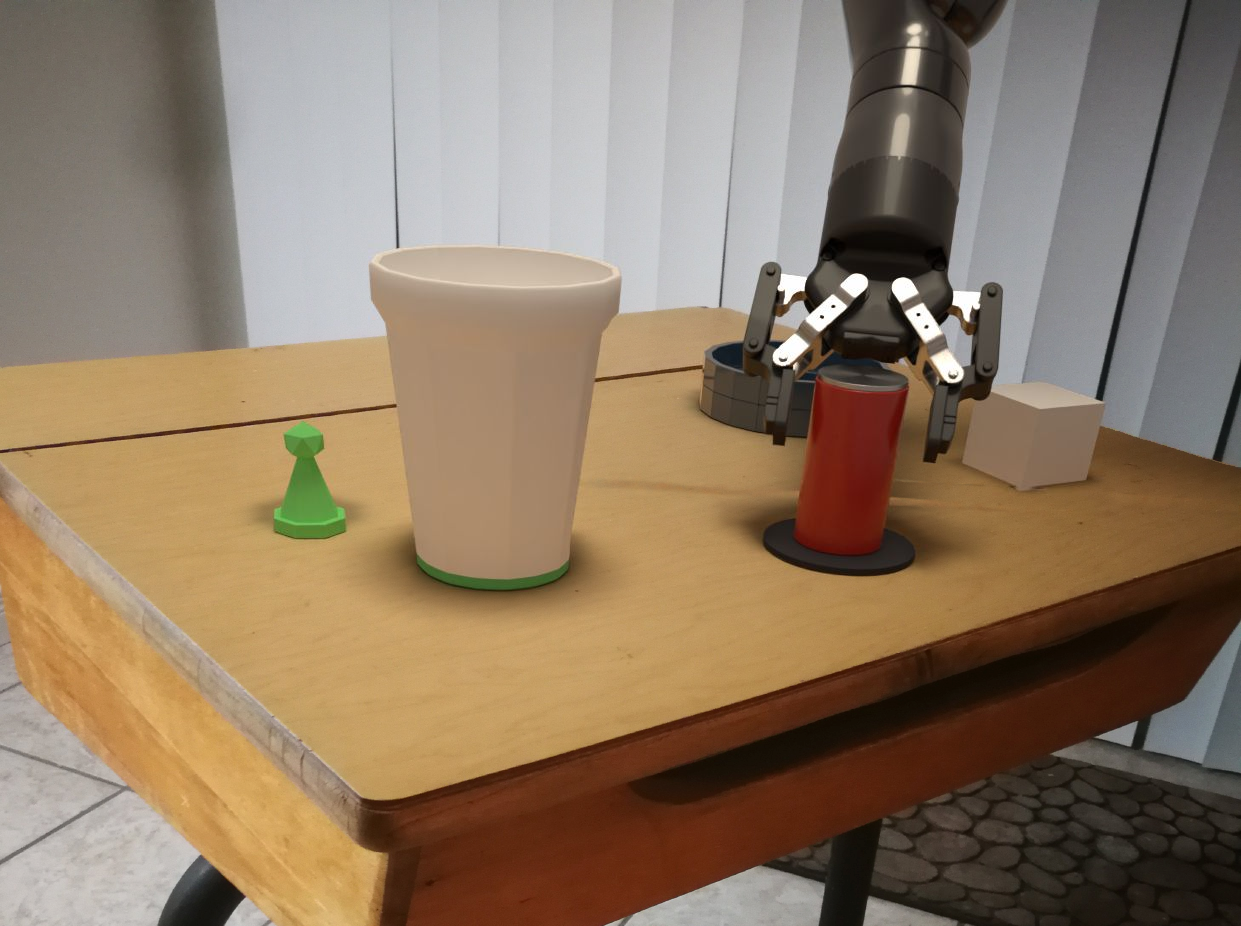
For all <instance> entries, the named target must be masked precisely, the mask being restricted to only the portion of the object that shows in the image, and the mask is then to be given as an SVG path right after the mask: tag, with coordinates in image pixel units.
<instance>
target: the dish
mask: <svg viewBox="0 0 1241 926" xmlns="http://www.w3.org/2000/svg"><path fill="white" fill-rule="evenodd" d="M785 341H786V340H784V339H781V340H780V339H770V343H769V345H771V346H773V347H775V348H777V349H778V348H779V347H780V346H781V345H782V344H783V343H784V342H785ZM832 365H862V366H871V367H877V368H883V369H887V370H891V371H893V370H892V367H890V365H889V363H881V362H878V361H875V360H873V359H870V358H864V359H857V360H850V359H841V354H839V353H837V352H835V351H834V352H833V353H832V354H831V355H830V356H829V357H827V358H826V359H825V360H824V361H823V362H822V363H821V364H820V365H819V366H817V367H816V368H815V369H814V370H811V369H810V370H808V371H807V372H806V373H805V374H803V375H802V376H801V377H800V378H799V379H798V380H797V381H796V382H795V383H794V393H793V399H792V405H791V411H790V417H789V423H788V429H787V435H786V437H796V438H797V437H799V438H807V435H808V428H809V421H810V414H811V407H812V400H813V392H814V385H815V378H816V376H817V375H818V371H819V369H821V368H823V367H826V366H832ZM701 369H702V370H701V380H700V391H699V401H698V402H699V409H700V410H701V412H703V413H704V414H706V415H707V416H708V417H710V418H712V419H713V420H716V421H718V422H721V423H724V424H727V425H728V426H732V427H736V428H739V429H740V428H741V429H743V430H746V431H747V430H748V431H752V432H757V433H763V434H765V431H764V427H763V420H764V408H765V403H766V397H767V391H768V385H769V384H768V382H767V381H766V380H765V379H764V378H762V377H760V376H756V377H749V376H747V375H746V374H745V373H744V372H743V340H735V341H734V340H733V341H727V342H721V343H718V344H713V345H711V346H710V347H708V348H707V349H705V350H704V351H703V358H702V368H701Z"/></svg>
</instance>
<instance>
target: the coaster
mask: <svg viewBox="0 0 1241 926" xmlns="http://www.w3.org/2000/svg"><path fill="white" fill-rule="evenodd" d="M795 521H796V517H791V518H786V519H782V520H779V521H776V522H774V523H772V524H770V525H769V526H767V527H766V528H765V530H764V531H763V534H762V543H763V546H764V548H765V549H766V550H767V551H768V552H769V553H770V554H772V555H773V556H775V557H776V558H778V559H780V560H782V561H783V562H787V563H789V564H791V565H795V566H797V567H801V568H804V569H808V570H811V571H816V572H822V573H827V574H834V575H835V574H836V575H845V576H877V575H883V574H884V575H885V574H890V573H895V572H898V571H901V570H903V569H906V568H907V567H909V566H910V565H912V563H913V562H914V559H915V556H916V547H915V545H914V543H912V542H911V541H910V539H908V538H907V537H906V536H904V535H902V534H900V533H899V532H897V531H895V530H892V529H890V528H887V527H884V532H883V538H882V543H881V547H880V548H879V549H878V550H877V551H875V552H873V553H869V554H865V555H854V556H847V555H834V554H828V553H823V552H819V551H815V550H812V549H809V548H807V547H805V546H803V545H801V544H799V543H798V542H797V541H796V540H795V538H794V528H795Z"/></svg>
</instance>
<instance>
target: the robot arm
mask: <svg viewBox="0 0 1241 926" xmlns="http://www.w3.org/2000/svg"><path fill="white" fill-rule="evenodd" d="M1008 2H1009V0H840V6H841V13H842V14H841V15H842V20H843V27H844V33H845V39H846V45H847V54H848V61H849V66H850V67H849V68H850V71H851V79H850V85H849V91H848V97H847V103H846V110H845V117H844V122H843V128H842V132H841V135H840V138H839V142H838V144H837V147H836V151H835V153H834V154H835V155H834V159H833V164H832V169H831V176H830V182H829V186H828V189H827V200H826V206H825V211H824V212H825V213H824V218H823V225H822V229H821V237H820V243H819V249H818V253H817V260H816V264H815V267H814V268H813V270H812V271H811V272H810V273H809V274H808V276H807V277H805V276H799V275H791V274H784V273H782V267H781V265H780V264H779V263H778V262H776V261H768V262H765V263H763V265H761V267H760V271H759V275H758V279H757V282H756V288H755V291H754V295H753V299H752V303H751V308H750V312H749V315H748V321H747V323H746V328H745V332H744V337H743V340H742V341H743V372H744V373H745V374H746V375H747V376H749V377H756V376H760V377H762V378H764V379H765V380H766V381H767V382H768V384H769V385H768V391H767V397H766V403H765V408H764V420H763V427H764V431H765V433H764V434H765V435H770V436H772V445H773V446H779V447H785V446H786V442H787V441H786V440H787V436H786V435H787V429H788V423H789V417H790V411H791V405H792V399H793V393H794V383H795V382H796V381H797V380H798V379H799V378H800V377H801V376H802V375H803V374H805V373H806V372H807V371H808V370H810V369H811V370H814V369H815V368H816V367H817V366H819V365H820V364H821V363H822V362H823V361H824V360H825V359H826V358H827V357H829V356H830V355H831V354H832V353H833V352H834V351H835V352H837V353H839V354H841V359H850V360H857V359H864V358H870V359H873V360H875V361H878V362H881V363H887V364H891V365H895V364H896V361H897V360H901V359H903V360H904V362H905V363H906V364H907V366H908V368H909V370H910V371H911V373H912V374H913V375H914V377H915V378H916V380H917V381H919V382H922V383H924V385H925V387H926V388H927V390H928V391H929V393H930V395H931V396H932V399H931V403H930V407H929V413H928V420H927V428H926V436H925V442H924V449H923V457H922V463H928V464H929V463H930V464H936V462H937V459H938V457H939V454H940V455H947V453H948V452H949V450H950V448H951V446H952V444H953V440H954V436H955V432H956V424H957V418H958V411H959V404H960V403H961V402H962V401H964V400H969V399H972V400H974V401H975V400H976V401H983V400H985V399H987V398H988V397H989V395H990V392H991V389H992V386H993V384H994V380H995V378H996V376H997V374H998V371H999V364H1000V351H1001V350H1000V348H1001V330H1002V316H1003V315H1002V313H1003V299H1004V289H1003V287H1002V286H1001V284H1000V283H998V282H996V281H995V282H994V281H990V282H986V283H985V284H984V285H983V286H981V290H980V291H965V290H963V291H960V290H954V288H953V286H952V285H951V282H950V280H949V269H950V268H949V267H950V261H951V253H952V247H953V238H954V232H955V225H956V218H957V211H958V206H959V202H960V189H961V181H962V174H963V167H964V166H963V163H964V162H963V161H964V160H963V159H964V152H963V149H964V147H963V137H964V128H965V120H966V115H967V106H968V99H969V95H970V94H969V93H970V85H971V76H972V66H971V65H972V63H971V56H970V52H969V50H970V49H971V48H973V47H975V46H977V45H978V44H979V43H980V42H981V41H982V40H984V39H985V38H986V37H987V36H988V34H990V32H991V31H992V30H993V28H995V26H996V25H997V24H998V21H999V20H1000V18H1001V17H1002V15H1003V13H1004V11H1005V9H1006V7H1007V4H1008ZM797 302H803V305H804V308H805V309H806V311H807V313H808V314H809V315H808V316H806V317H805V318H804V319H803V320H802V321H801V323H800V324H799V326H798V328H797V329H796V331H795V332H794V333H793V334H792V335H791V336H790V337H788V339H786V340H785V342H784V343H783V344H782V345H781V346H780V347H779V348H778V349H777V348H775V347H773V346H771V345H769V343H770V340H771V338H772V334H773V329H774V325H775V322H776V321H775V320H776V317H777V318H782V317H783V316H784V315H785V314H788V312H789V311H790V310H791V307H793V305H794V304H795V303H797ZM949 316H954V317H956V318H957V319H958V320H959V323H960V329H961V330H962V331H963V332H964V334H965V335H966V336H971V350H970V364H969V365H965V366H962V365H961V364H960V363H959V361H958V359H957V358H956V357H955V355H954V353H953V352H952V350H951V349H950V347H949V345H948V341H947V337H946V335H945V332H944V331H943V330H942V328H941V326H942V325H943V323H945V322H946V321H947V320H948V318H949Z"/></svg>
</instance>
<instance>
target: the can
mask: <svg viewBox="0 0 1241 926" xmlns="http://www.w3.org/2000/svg"><path fill="white" fill-rule="evenodd" d="M891 370H892V369H891ZM891 370H887V369H883V368H877V367H871V366H862V365H832V366H826V367H823V368H821V369H819V371H818V375H817V376H816V378H815V385H814V392H813V400H812V407H811V414H810V421H809V428H808V435H807V437H806V441H805V442H806V444H805V450H804V457H803V464H802V470H801V471H802V472H801V478H800V486H799V493H798V499H797V507H796V515H795V518H796V521H795V528H794V538H795V540H796V541H797V542H798V543H799V544H801V545H803V546H805V547H807V548H809V549H812V550H815V551H819V552H823V553H828V554H834V555H847V556H854V555H865V554H869V553H873V552H875V551H877V550H878V549H879V548H880V547H881V543H882V538H883V532H884V528H886V527H885V526H886V521H887V520H886V519H887V516H888V510H889V504H890V498H891V493H892V487H893V481H894V475H895V470H896V466H897V459H898V454H899V447H900V443H901V436H902V431H903V425H904V420H905V414H906V409H907V404H908V398H909V391H910V385H909V383H910V382H909V381H910V379H909V377H907V376H906V375H904V374H902V373H901V372H897V371H895V370H892V371H891Z"/></svg>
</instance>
